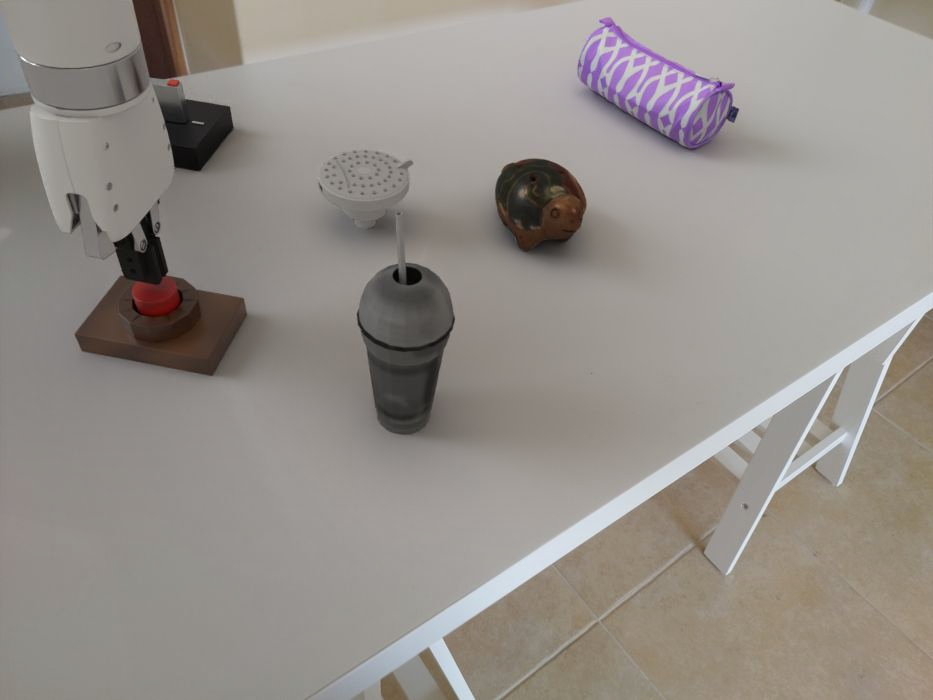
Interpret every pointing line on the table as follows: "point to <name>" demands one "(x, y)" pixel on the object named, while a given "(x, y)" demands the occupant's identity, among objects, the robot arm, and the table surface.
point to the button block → (164, 328)
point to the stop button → (156, 297)
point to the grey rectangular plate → (171, 99)
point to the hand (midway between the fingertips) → (146, 275)
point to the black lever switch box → (199, 134)
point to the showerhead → (364, 183)
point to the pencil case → (655, 87)
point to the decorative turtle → (539, 201)
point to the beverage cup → (405, 339)
